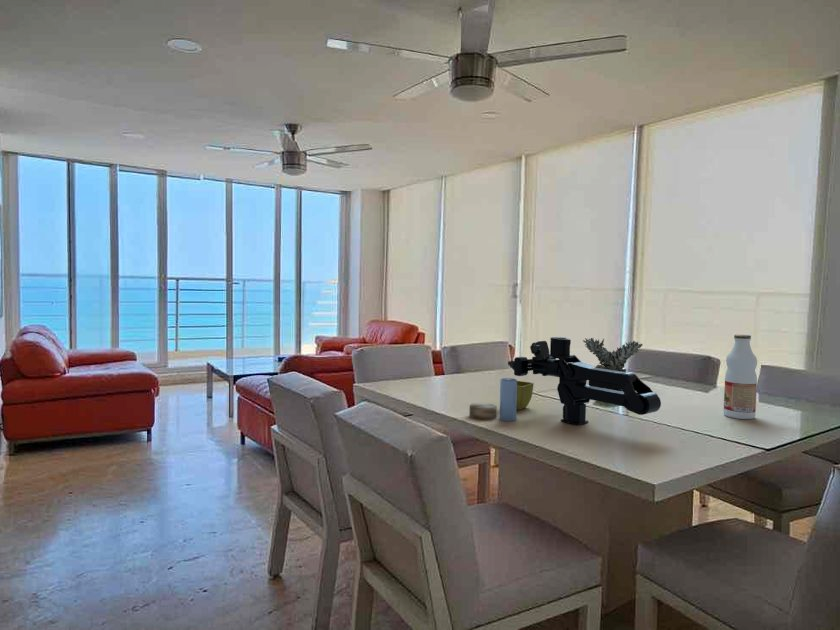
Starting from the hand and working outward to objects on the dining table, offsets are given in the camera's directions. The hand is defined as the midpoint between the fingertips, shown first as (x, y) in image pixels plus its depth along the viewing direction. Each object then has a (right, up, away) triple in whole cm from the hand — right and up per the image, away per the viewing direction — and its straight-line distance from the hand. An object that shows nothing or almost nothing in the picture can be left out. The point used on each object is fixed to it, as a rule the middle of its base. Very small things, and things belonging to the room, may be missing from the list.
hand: (517, 361), depth 193 cm
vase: (-6, -17, -16) cm, 25 cm away
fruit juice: (+74, -18, -9) cm, 77 cm away
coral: (+49, -15, +45) cm, 68 cm away
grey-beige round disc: (-14, -17, -13) cm, 26 cm away
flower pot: (0, -17, +1) cm, 17 cm away
